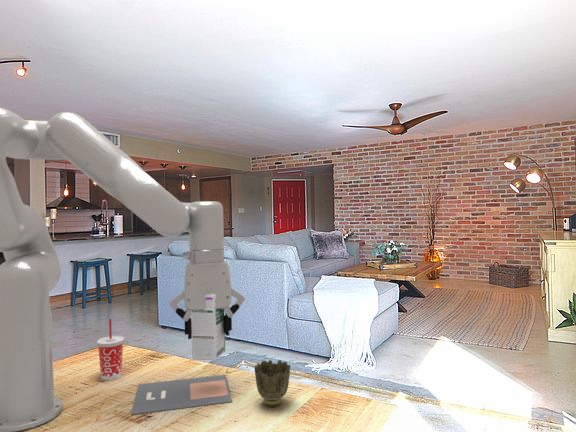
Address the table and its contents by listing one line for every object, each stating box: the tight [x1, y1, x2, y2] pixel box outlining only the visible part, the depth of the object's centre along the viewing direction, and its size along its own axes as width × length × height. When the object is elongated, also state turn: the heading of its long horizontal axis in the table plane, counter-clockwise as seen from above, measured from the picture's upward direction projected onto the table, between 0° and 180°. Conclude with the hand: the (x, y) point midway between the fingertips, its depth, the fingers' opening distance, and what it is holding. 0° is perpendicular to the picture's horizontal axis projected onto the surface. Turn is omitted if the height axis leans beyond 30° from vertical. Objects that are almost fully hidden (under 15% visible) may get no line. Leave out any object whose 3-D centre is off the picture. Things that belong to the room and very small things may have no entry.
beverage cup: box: [96, 318, 125, 381], centre depth 99 cm, size 6×6×14 cm
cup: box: [253, 359, 291, 408], centre depth 85 cm, size 8×7×8 cm
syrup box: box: [190, 294, 226, 362], centre depth 91 cm, size 6×6×14 cm
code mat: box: [130, 374, 233, 416], centre depth 90 cm, size 20×14×1 cm
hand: (208, 335), depth 91 cm, fingers closed on syrup box, 7 cm apart
